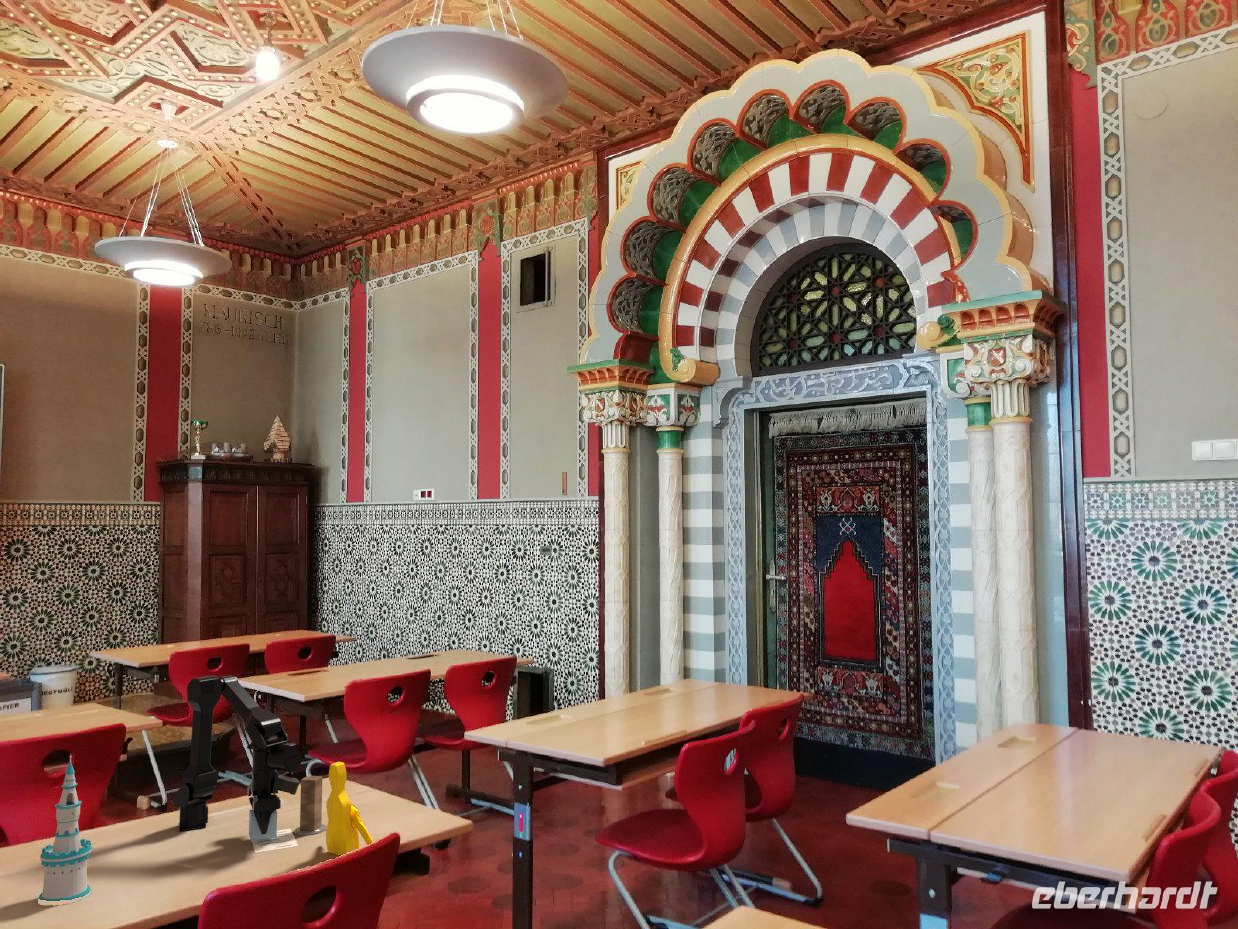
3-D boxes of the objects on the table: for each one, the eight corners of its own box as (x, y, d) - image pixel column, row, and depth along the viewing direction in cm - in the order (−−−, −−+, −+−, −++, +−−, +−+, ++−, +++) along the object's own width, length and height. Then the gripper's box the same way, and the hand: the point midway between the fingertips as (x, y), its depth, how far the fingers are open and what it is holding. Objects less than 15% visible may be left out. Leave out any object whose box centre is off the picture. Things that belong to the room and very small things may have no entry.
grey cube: (250, 841, 221) (251, 816, 221) (248, 834, 226) (249, 810, 227) (276, 837, 223) (277, 812, 224) (273, 830, 229) (274, 806, 229)
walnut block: (299, 831, 231) (300, 780, 232) (307, 826, 235) (308, 775, 236) (314, 831, 230) (315, 780, 231) (321, 826, 234) (322, 776, 235)
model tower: (86, 884, 198) (92, 747, 200) (95, 897, 190) (101, 754, 193) (33, 896, 191) (39, 754, 194) (41, 910, 183) (47, 762, 186)
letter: (255, 853, 216) (255, 852, 216) (249, 835, 229) (249, 834, 229) (298, 846, 221) (298, 845, 221) (290, 829, 234) (290, 828, 234)
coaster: (296, 838, 227) (296, 835, 227) (292, 829, 234) (292, 826, 234) (328, 833, 231) (328, 830, 231) (323, 824, 238) (323, 822, 238)
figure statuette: (380, 856, 214) (381, 762, 215) (354, 866, 207) (355, 769, 209) (333, 842, 224) (334, 753, 225) (306, 851, 217) (308, 759, 219)
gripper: (302, 772, 222) (301, 836, 220) (292, 756, 238) (291, 815, 237) (254, 778, 216) (253, 843, 215) (248, 761, 233) (246, 822, 232)
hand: (262, 830), depth 225 cm, fingers closed on grey cube, 6 cm apart
